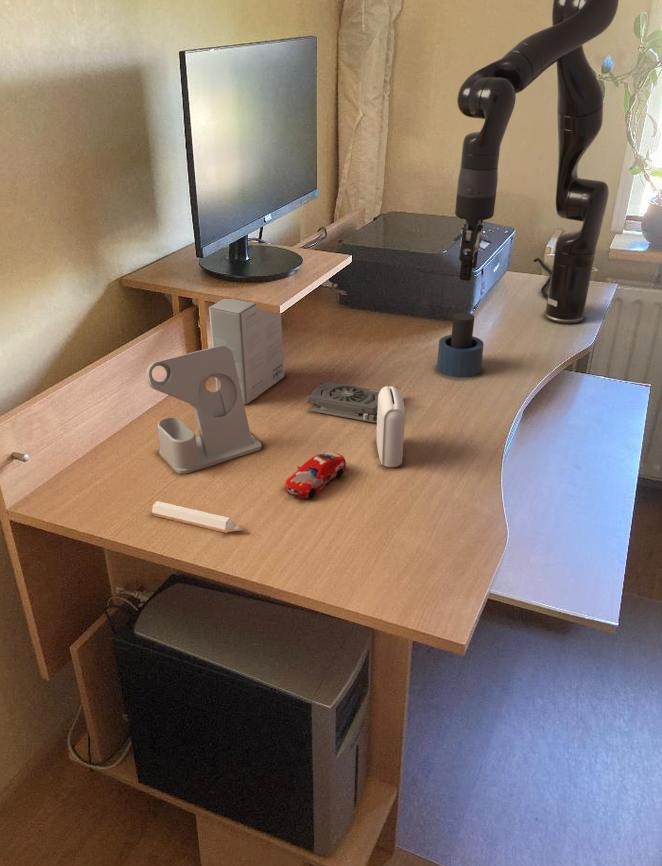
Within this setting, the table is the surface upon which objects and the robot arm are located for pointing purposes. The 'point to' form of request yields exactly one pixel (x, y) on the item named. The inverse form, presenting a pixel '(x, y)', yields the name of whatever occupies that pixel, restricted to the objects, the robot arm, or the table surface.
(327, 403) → the graphics card
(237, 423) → the phone holder
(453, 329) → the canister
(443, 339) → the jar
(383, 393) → the photo printer
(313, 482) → the race car
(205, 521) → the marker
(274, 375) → the hard drive box
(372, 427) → the table surface
